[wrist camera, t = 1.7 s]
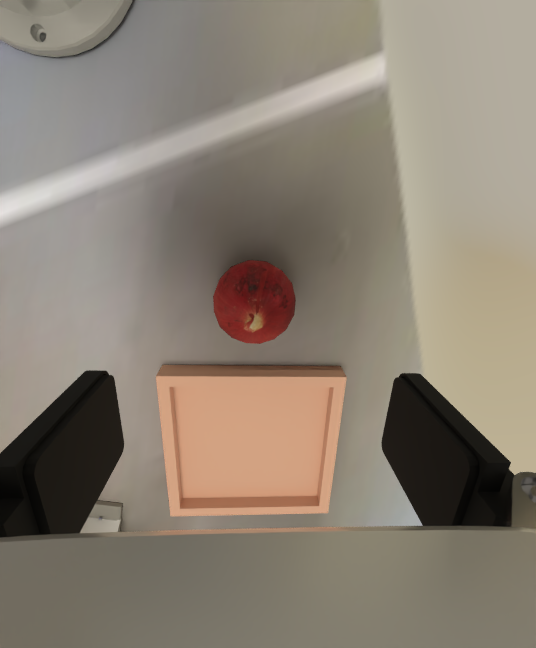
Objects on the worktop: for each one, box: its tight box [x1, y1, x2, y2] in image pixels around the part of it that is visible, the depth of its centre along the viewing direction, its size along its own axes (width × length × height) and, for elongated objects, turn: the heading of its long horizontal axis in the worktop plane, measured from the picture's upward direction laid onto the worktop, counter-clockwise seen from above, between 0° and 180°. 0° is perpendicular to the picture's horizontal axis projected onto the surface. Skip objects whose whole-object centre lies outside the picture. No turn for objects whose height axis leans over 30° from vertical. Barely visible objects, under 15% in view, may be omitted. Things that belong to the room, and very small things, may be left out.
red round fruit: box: [213, 260, 295, 344], centre depth 22 cm, size 6×6×8 cm
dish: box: [156, 365, 347, 516], centre depth 30 cm, size 16×16×2 cm
